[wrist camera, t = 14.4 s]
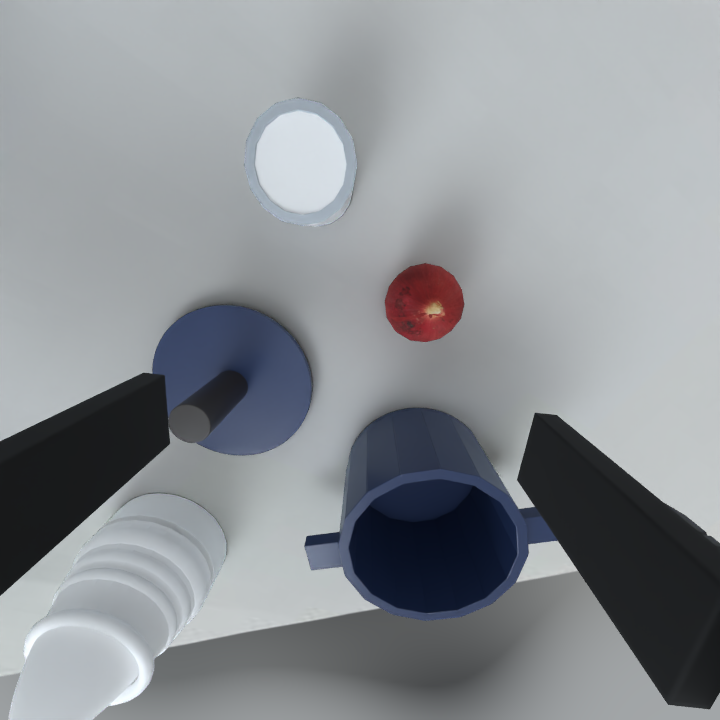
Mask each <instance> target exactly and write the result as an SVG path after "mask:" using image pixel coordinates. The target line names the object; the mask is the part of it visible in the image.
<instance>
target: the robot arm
mask: <svg viewBox="0 0 720 720" xmlns="http://www.w3.org/2000/svg"><path fill="white" fill-rule="evenodd" d="M169 444H170V439H169V425H168V412H167V398H166V384H165V375H160V374H150V373H142V374H140V375H138V376H136V377H134V378H132V379H129V380H127V381H125V382H123V383H121V384H119V385H117V386H115V387H113V388H111V389H109V390H107V391H104V392H102V393H100V394H98V395H96V396H94V397H92V398H90V399H88V400H86V401H84V402H81V403H79V404H77V405H75V406H73V407H71V408H69V409H67V410H65V411H63V412H61V413H59V414H56V415H54V416H52V417H50V418H48V419H46V420H44V421H42V422H40V423H38V424H36V425H34V426H31V427H29V428H27V429H25V430H23V431H21V432H19V433H17V434H15V435H13V436H11V437H8V438H6V439H4V440H2V441H0V595H2V594H3V593H4V592H5V591H6V590H7V589H8V588H9V587H11V586H12V585H13V584H14V583H15V582H16V581H17V580H18V579H19V578H21V577H22V576H23V575H24V574H25V573H26V572H27V571H28V570H30V569H31V568H32V567H33V566H34V565H35V564H36V563H37V562H38V561H40V560H41V559H42V558H43V557H44V556H45V555H46V554H47V553H49V552H50V551H51V550H52V549H53V548H54V547H55V546H56V545H57V544H59V543H60V542H61V541H62V540H63V539H64V538H65V537H66V536H68V535H69V534H70V533H71V532H72V531H73V530H74V529H75V528H76V527H78V526H79V525H80V524H81V523H82V522H83V521H84V520H85V519H87V518H88V517H89V516H90V515H91V514H92V513H93V512H94V511H95V510H97V509H98V508H99V507H100V506H101V505H102V504H103V503H104V502H106V501H107V500H108V499H109V498H110V497H111V496H112V495H113V494H114V493H116V492H117V491H118V490H119V489H120V488H121V487H122V486H123V485H125V484H126V483H127V482H128V481H129V480H130V479H131V478H132V477H133V476H135V475H136V474H137V473H138V472H139V471H140V470H141V469H142V468H144V467H145V466H146V465H147V464H148V463H149V462H150V461H151V460H152V459H154V458H155V457H156V456H157V455H158V454H159V453H160V452H161V451H163V450H164V449H165V448H166V447H167V446H168V445H169ZM517 480H518V482H519V483H520V485H521V486H522V488H523V489H524V491H525V492H526V494H527V495H528V497H529V498H530V500H531V501H532V503H533V504H534V506H535V507H536V509H537V510H538V512H539V513H540V515H541V516H542V518H543V519H544V521H545V522H546V524H547V525H548V527H549V528H550V530H551V531H552V533H553V534H554V536H555V537H556V539H557V540H558V542H559V543H560V544H561V546H562V547H563V549H564V550H565V552H566V553H567V555H568V556H569V558H570V559H571V561H572V562H573V564H574V565H575V567H576V568H577V570H578V571H579V573H580V574H581V576H582V577H583V579H584V580H585V582H586V583H587V585H588V586H589V587H590V589H591V590H592V592H593V594H594V595H595V597H596V598H597V600H598V601H599V603H600V604H601V605H602V607H603V608H604V610H605V611H606V613H607V614H608V616H609V617H610V619H611V620H612V622H613V623H614V625H615V626H616V628H617V629H618V631H619V632H620V634H621V635H622V637H623V638H624V640H625V641H626V643H627V644H628V645H629V647H630V649H631V650H632V651H633V653H634V655H635V656H636V657H637V659H638V660H639V662H640V663H641V665H642V667H643V668H644V669H645V671H646V672H647V674H648V675H649V677H650V678H651V680H652V681H653V683H654V684H655V686H656V687H657V689H658V690H659V692H660V693H661V695H662V696H663V698H664V699H665V701H666V702H667V704H668V705H675V706H685V707H694V708H703V709H710V708H711V706H712V705H713V703H714V701H715V700H716V698H717V696H718V695H719V693H720V543H719V542H718V541H716V540H715V539H714V538H713V537H711V536H707V534H706V532H705V531H704V530H703V529H702V528H700V527H699V526H698V525H697V524H695V523H694V522H693V521H692V520H690V519H689V518H688V517H687V516H685V515H684V514H682V513H680V512H679V511H677V510H675V509H674V508H672V507H670V506H668V505H667V504H665V503H663V502H662V501H661V500H660V499H658V498H657V497H656V496H655V495H653V494H652V493H651V492H650V491H649V490H647V489H646V488H645V487H644V486H643V485H641V484H640V483H639V482H638V481H636V480H635V479H634V478H633V477H632V476H630V475H629V474H628V473H627V472H625V471H624V470H623V469H622V468H621V467H619V466H618V465H617V464H616V463H614V462H613V461H612V460H611V459H610V458H608V457H607V456H606V455H605V454H603V453H602V452H601V451H600V450H599V449H597V448H596V447H595V446H594V445H593V444H591V443H590V442H589V441H588V440H586V439H585V438H584V437H583V436H582V435H580V434H579V433H578V432H577V431H575V430H574V429H573V428H572V427H571V426H569V425H568V424H567V423H566V422H564V421H563V420H562V419H561V418H560V417H558V416H557V415H551V414H541V413H535V414H534V418H533V422H532V426H531V429H530V433H529V437H528V441H527V445H526V448H525V452H524V456H523V460H522V463H521V467H520V471H519V475H518V478H517Z"/></svg>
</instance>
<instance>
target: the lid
mask: <svg viewBox="0 0 720 720" xmlns="http://www.w3.org/2000/svg"><path fill="white" fill-rule="evenodd" d="M152 370H153V374H160V375H165V384H166V398H167V412H168V418H169V419H168V423H169V427H170V429H171V431H172V432H173V434H174V435H175V436H176V437H177V438H179V439H180V440H182V441H185V442H189V443H197V444H199V445H201V446H203V447H205V448H207V449H210V450H213V451H216V452H219V453H223V454H229V455H254V454H258V453H263V452H266V451H269V450H271V449H273V448H275V447H277V446H279V445H281V444H282V443H284V442H285V441H287V440H288V439H289V438H290V437H291V436H292V435H293V434H294V433H295V432H296V431H297V430H298V429H299V427H300V426H301V424H302V422H303V421H304V419H305V417H306V414H307V412H308V410H309V406H310V402H311V397H312V378H311V372H310V368H309V365H308V362H307V359H306V357H305V355H304V353H303V351H302V349H301V348H300V346H299V345H298V343H297V342H296V340H295V339H294V338H293V337H292V335H291V334H290V333H289V332H288V331H287V330H286V329H285V328H284V327H283V326H281V325H280V324H279V323H277V322H276V321H275V320H273V319H271V318H270V317H268V316H266V315H264V314H262V313H260V312H258V311H255V310H253V309H249V308H246V307H241V306H235V305H215V306H209V307H205V308H201V309H197V310H195V311H193V312H190V313H188V314H186V315H185V316H183V317H181V318H180V319H178V320H177V321H176V322H175V323H174V324H172V325H171V326H170V328H169V329H168V330H167V331H166V332H165V334H164V335H163V337H162V338H161V340H160V342H159V344H158V346H157V349H156V352H155V356H154V359H153V369H152Z"/></svg>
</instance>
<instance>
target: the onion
mask: <svg viewBox="0 0 720 720" xmlns="http://www.w3.org/2000/svg"><path fill="white" fill-rule="evenodd" d="M385 307H386V316H387V319H388V320H389V322H390V323H391V325H392V327H393V328H394V330H395V331H396V332H397V333H399V334H401V335H402V336H404V337H406V338H407V339H409V340H411V341H420V342H428V341H432V340H436V339H440V338H442V337H443V336H444V335H446V334H447V333H449V332H450V331H452V329H453V328H454V327H455V325H456V324H457V323H458V322H459V320H460V319H461V316H462V311H463V307H464V300H463V293H462V289H461V287H460V286H459V284H458V282H457V281H456V279H455V277H454V276H453V275H452V274H450V273H449V272H447V271H446V270H445V269H443V268H442V267H440V266H435V265H431V264H426V263H424V264H420V265H415V266H411V267H409V268H407V269H406V270H404V271H403V272H402V273H400V274H399V275H398V276H397V277H396V278H395V279H394V281H393V282H392V283H391V285H390V286H389V288H388V292H387V295H386V299H385Z"/></svg>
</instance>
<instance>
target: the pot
mask: <svg viewBox="0 0 720 720" xmlns="http://www.w3.org/2000/svg"><path fill="white" fill-rule="evenodd" d="M549 541H558V540H557V539H556V537H555V536H554V534H553V533H552V531H551V530H550V528H549V527H548V525H547V524H546V522H545V521H544V519H543V518H542V516H541V515H540V513H539V512H538V510H537V509H536V507H531V508H524V509H518V507H517V506H516V504H515V502H514V501H513V499H512V497H511V496H510V494H509V492H508V491H507V489H506V487H505V486H504V484H503V482H502V481H501V479H500V477H499V476H498V474H497V472H496V471H495V469H494V467H493V466H492V464H491V462H490V461H489V459H488V457H487V456H486V454H485V452H484V451H483V449H482V448H481V446H480V444H479V443H478V441H477V439H476V438H475V436H474V434H473V433H472V431H471V430H470V429H469V428H467V427H466V426H465V425H464V424H463V423H462V422H460V421H459V420H458V419H456V418H454V417H453V416H451V415H449V414H446V413H444V412H441V411H437V410H434V409H427V408H407V409H401V410H397V411H394V412H391V413H388V414H386V415H384V416H382V417H380V418H378V419H377V420H375V421H374V422H372V423H371V424H370V425H369V426H367V427H366V428H365V429H364V430H363V431H362V433H361V434H360V435H359V436H358V438H357V439H356V441H355V443H354V445H353V446H352V448H351V452H350V455H349V461H348V465H347V470H346V478H345V487H344V496H343V505H342V514H341V523H340V532H336V533H328V534H320V535H312V536H307V537H306V542H305V550H306V553H307V557H308V560H309V564H310V567H311V570H318V569H326V568H334V567H343V570H344V574H345V576H346V578H347V579H348V580H349V581H350V582H351V584H352V585H353V586H354V587H355V588H356V590H357V591H358V592H359V593H360V594H361V596H362V597H363V598H364V599H365V600H367V601H369V602H370V603H372V604H374V605H376V606H378V607H379V608H381V609H383V610H385V611H387V612H389V613H390V614H393V615H397V616H402V617H408V618H413V619H418V620H424V621H429V620H437V619H447V618H457V617H462V616H465V615H467V614H469V613H472V612H474V611H476V610H479V609H481V608H483V607H486V606H488V605H490V604H492V603H493V602H495V601H496V600H497V599H498V598H499V597H500V596H501V595H502V594H503V593H505V592H506V591H507V590H508V589H509V588H510V587H511V586H512V585H513V584H515V583H516V581H517V579H518V577H519V574H520V572H521V570H522V568H523V566H524V563H525V561H526V559H527V557H528V554H529V550H528V544H533V543H541V542H549Z"/></svg>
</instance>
